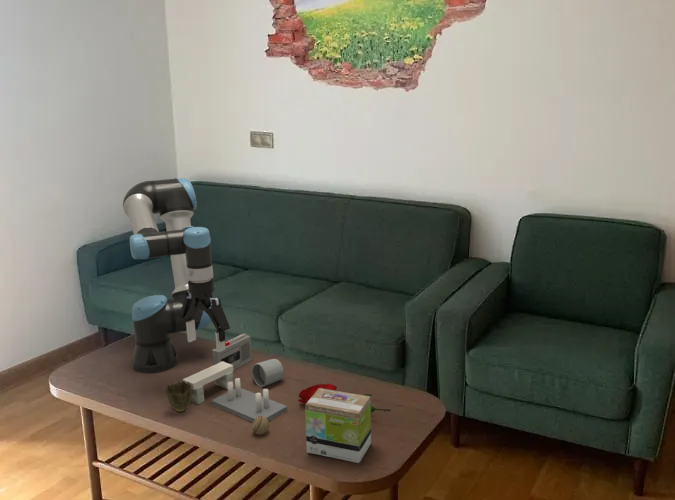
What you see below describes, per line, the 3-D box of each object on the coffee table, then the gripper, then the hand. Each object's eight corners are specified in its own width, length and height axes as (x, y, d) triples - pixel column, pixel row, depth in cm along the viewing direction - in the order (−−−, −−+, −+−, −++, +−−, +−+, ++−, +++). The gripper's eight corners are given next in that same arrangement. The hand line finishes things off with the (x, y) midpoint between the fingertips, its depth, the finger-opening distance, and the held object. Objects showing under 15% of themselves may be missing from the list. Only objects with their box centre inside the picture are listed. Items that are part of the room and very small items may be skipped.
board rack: (185, 398, 214) (184, 383, 213) (221, 381, 225) (220, 367, 223) (198, 404, 210) (196, 389, 209) (233, 386, 221) (232, 372, 220)
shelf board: (193, 389, 209) (193, 383, 208) (183, 385, 212) (182, 379, 211) (233, 371, 221) (233, 365, 220) (222, 367, 224) (222, 361, 223)
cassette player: (219, 377, 228) (217, 349, 226) (213, 375, 230) (211, 347, 227) (251, 360, 240) (250, 333, 238) (246, 358, 242) (244, 331, 239)
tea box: (305, 454, 182) (303, 403, 178) (320, 435, 191) (318, 386, 187) (360, 464, 177) (358, 412, 173) (372, 444, 186) (371, 394, 182)
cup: (171, 419, 202) (169, 394, 200) (165, 408, 208) (162, 384, 206) (196, 413, 205) (194, 388, 203) (189, 402, 211) (187, 378, 209)
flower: (392, 384, 195) (299, 374, 208) (382, 412, 189) (287, 400, 202) (400, 403, 200) (309, 392, 214) (391, 431, 194) (298, 418, 208)
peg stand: (211, 404, 210) (209, 383, 208) (238, 391, 218) (237, 370, 216) (260, 426, 197) (259, 403, 195) (287, 410, 205) (286, 389, 203)
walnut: (260, 426, 197) (259, 410, 195) (273, 432, 194) (272, 415, 192) (247, 434, 193) (246, 417, 192) (260, 439, 190) (259, 423, 189)
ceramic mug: (286, 381, 223) (285, 359, 222) (266, 390, 218) (265, 367, 216) (266, 372, 231) (264, 350, 229) (246, 380, 226) (244, 358, 224)
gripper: (164, 275, 213) (170, 340, 218) (218, 290, 197) (224, 359, 203) (184, 269, 218) (189, 333, 224) (238, 283, 203) (243, 351, 208)
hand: (206, 345), depth 213 cm, fingers open, 13 cm apart
